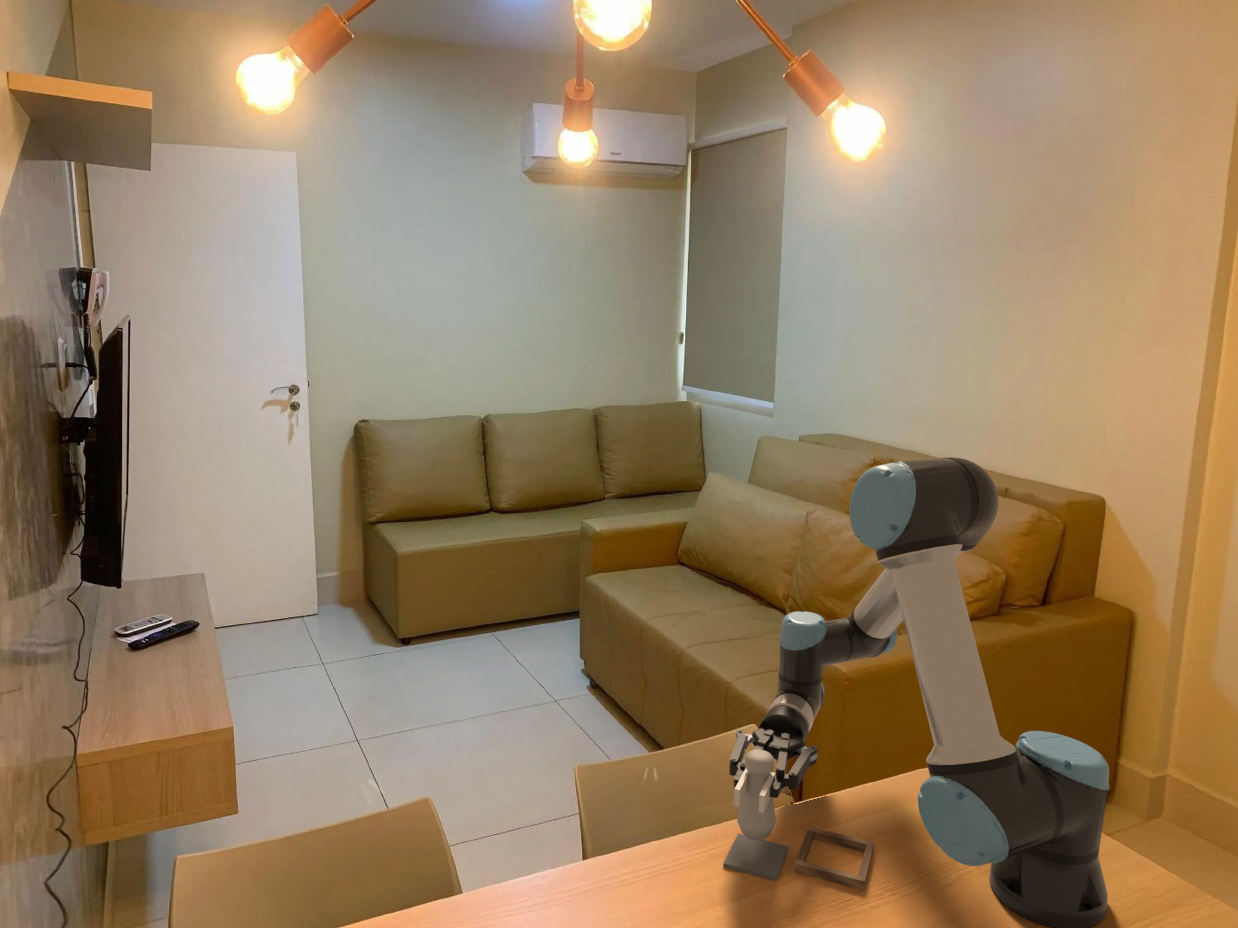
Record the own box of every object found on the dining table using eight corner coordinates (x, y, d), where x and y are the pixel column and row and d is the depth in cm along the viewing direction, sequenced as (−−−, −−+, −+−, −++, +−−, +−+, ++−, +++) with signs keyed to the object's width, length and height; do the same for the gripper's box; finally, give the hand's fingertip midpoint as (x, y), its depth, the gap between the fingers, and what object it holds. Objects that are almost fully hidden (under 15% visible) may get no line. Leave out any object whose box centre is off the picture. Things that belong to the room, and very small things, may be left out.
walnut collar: (873, 850, 138) (874, 841, 138) (864, 890, 129) (864, 881, 129) (808, 834, 142) (808, 825, 142) (794, 872, 133) (795, 863, 133)
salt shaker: (774, 846, 133) (779, 766, 130) (735, 842, 134) (739, 762, 131) (775, 823, 138) (779, 746, 135) (737, 818, 139) (741, 742, 136)
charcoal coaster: (788, 849, 138) (788, 845, 138) (776, 880, 131) (776, 877, 131) (737, 836, 141) (738, 833, 141) (723, 866, 134) (723, 862, 134)
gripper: (833, 756, 148) (803, 838, 127) (738, 736, 154) (694, 810, 133) (836, 714, 146) (806, 790, 125) (740, 695, 152) (696, 764, 131)
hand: (749, 800), depth 129 cm, fingers closed on salt shaker, 3 cm apart
